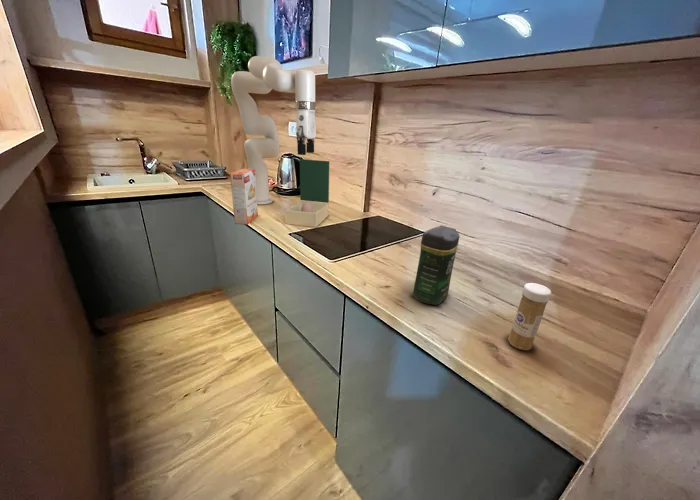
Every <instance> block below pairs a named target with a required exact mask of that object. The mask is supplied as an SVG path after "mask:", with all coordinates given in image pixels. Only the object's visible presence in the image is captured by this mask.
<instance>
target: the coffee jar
mask: <svg viewBox="0 0 700 500" xmlns="http://www.w3.org/2000/svg"><path fill="white" fill-rule="evenodd" d="M459 241H460V233H459V232H458V231H457V229H456V228H453V227H450V226H447V225H439V226H436V227H435V226H434V227H432V228H430V229H428V230H426V231H424V232H423V233H422V236H421V239H420V252H419V258H418V265H417V269H416V276H415V280H414V286H413V291H412V294H413V297H414V298H415V299H416V300H418V301H420V302H422V303H424V304H429V305H435V306H436V305H439V304H441V303H442V302H443V301H445V300H446V298H447V297H448V295H449V290H450V285H451V281H452V279H451V278H452V273H453V268H454V263H455V259H456V254H457V251H458V247H459Z"/></svg>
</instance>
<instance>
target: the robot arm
mask: <svg viewBox="0 0 700 500" xmlns="http://www.w3.org/2000/svg"><path fill="white" fill-rule="evenodd" d="M247 68H248V71H245V70H238V71H235V72H233V74H231V77H230V78H231V79H230V85H231V86H230V87H231V91H232V95H233V97H234V99H235V102H236V104H237V107H238V112H239V116H240V120H241V125H242V129H243V132H244V133H245V135H247V136H251V138H248V139H246V140H245V141H244V144H243V149H244V153H245V158H246V161H247V169H255V178H256V194H257V206H258V205H268V204H272V203H273V202H274V199H273V198H271V197H270V185H269V184H270V183H269V181H270V180H269V168H268V165H267V163H266V162H265V160H264V159H272V158H276V157H278V156H279V155H280V152H281V150H280V148H281V147H280V140H279V136H278V132H277V126H276V122H275V120H274V119H273V118H272V117H271V116H270V115H266V114H260V113H259V110H258V105H257V102H256V101H255V100H254V98H253V97H252V96H251V95H250V94H259V95H267V94H269V93H270V92H271V91H275V92H279V93H290V94H295V95H294V96H295V98H294V99H295V111H296V132H295V135H296V144H297V155H299V156H306V155H307V153H309V154H314V153H315V138H316V137H317V123H316V74H315V72H314V71H312V70H309V69H298V70H296V71H294V70H289V69H283V67H282V65H281V62H280V61H279V60H278V59H275V58H272V57H266V56H261V55H255V56H252V57H250V58H249V60H248V63H247ZM253 136H255V137H253ZM256 136H257V137H256ZM261 136H262V137H261Z"/></svg>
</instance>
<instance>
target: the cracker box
mask: <svg viewBox="0 0 700 500" xmlns="http://www.w3.org/2000/svg"><path fill="white" fill-rule="evenodd" d="M229 177H230V188H231V197H232V198H231V199H232V206H233V207H232V208H233V218H234V224H235V225H244V226H249V224H251V223H252V222H253V221H255V219H256V218H257V217H258V216H259V213H258V212H259V211H258V204H257V194H256V178H255V169H248V168H240V169H238V170H235V171H232V172H230V173H229Z"/></svg>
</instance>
